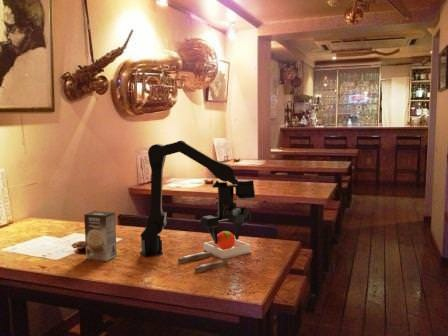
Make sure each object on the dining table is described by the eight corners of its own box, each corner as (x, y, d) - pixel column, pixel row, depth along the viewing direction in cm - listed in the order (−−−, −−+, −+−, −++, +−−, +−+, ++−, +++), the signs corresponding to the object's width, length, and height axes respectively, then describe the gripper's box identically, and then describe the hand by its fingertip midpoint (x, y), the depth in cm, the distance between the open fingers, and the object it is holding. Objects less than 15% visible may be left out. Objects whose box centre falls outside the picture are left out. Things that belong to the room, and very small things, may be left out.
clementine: (238, 252, 144) (238, 233, 143) (219, 254, 142) (219, 234, 141) (231, 246, 151) (231, 227, 151) (213, 247, 150) (214, 228, 149)
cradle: (196, 273, 126) (196, 267, 126) (178, 262, 136) (177, 257, 136) (227, 265, 133) (227, 259, 132) (208, 255, 143) (208, 250, 142)
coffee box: (85, 259, 142) (82, 214, 140) (96, 253, 148) (94, 210, 146) (107, 261, 139) (105, 215, 137) (117, 255, 145) (115, 211, 143)
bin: (222, 259, 139) (222, 250, 138) (203, 250, 149) (203, 242, 148) (250, 252, 145) (250, 244, 145) (230, 244, 155) (230, 237, 155)
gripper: (216, 205, 133) (217, 251, 135) (260, 199, 144) (260, 242, 145) (199, 201, 142) (200, 244, 144) (241, 195, 153) (242, 235, 154)
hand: (226, 241), depth 147 cm, fingers open, 9 cm apart
